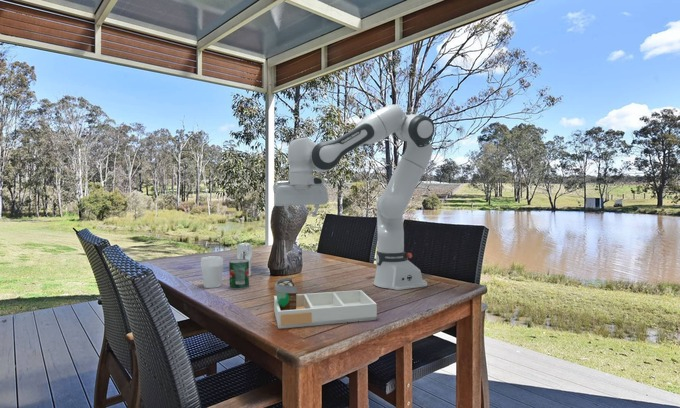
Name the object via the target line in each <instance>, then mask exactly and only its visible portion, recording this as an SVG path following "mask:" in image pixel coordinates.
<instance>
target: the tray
mask: <svg viewBox="0 0 680 408" xmlns="http://www.w3.org/2000/svg"><path fill="white" fill-rule="evenodd" d="M273 307H274V308H273V309H274V315H275V320H276V321H275V322H276V325H277V329H278V330H279V329H281V330H282V329H289V328H290V329H291V328H300V327H301V328H302V327H312V326H314V327H315V326H322V325H334V324H335V325H336V324H344V323H345V324H346V323H347V322H348V323H358V321H359V322H366V321H377V320H378V303H376V302H375V301H374V299H372V298H371V297H370V296H368V295H367V294H366V293H365V292H364V291H363V290H362V289H355V290H342V291H341V290H340V291H339V290H338V291H327V292H326V291H325V292H314V293H313V292H312V293H311V292H310V293H298V294H297V293H296V309H295V310H282V311H281V310H280V307H279V303H278V302H277V295H273Z"/></svg>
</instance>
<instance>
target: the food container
mask: <svg viewBox="0 0 680 408" xmlns="http://www.w3.org/2000/svg"><path fill="white" fill-rule="evenodd" d="M297 290H298V288H297V285H295V283H294V282H293V277H286V278H280V279H278V280H277V281H276V282H275V284H274V291H276V296H277V302H278V303H279V307H280V310H281V311H282V310H295V309H296V294H297V293H298V291H297Z"/></svg>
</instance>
